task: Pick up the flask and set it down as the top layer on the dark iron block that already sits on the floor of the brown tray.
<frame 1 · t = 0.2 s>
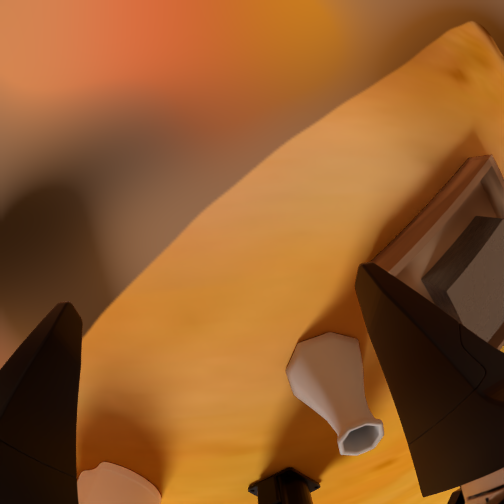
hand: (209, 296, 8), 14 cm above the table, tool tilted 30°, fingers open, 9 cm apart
jar: (120, 485, 27), on the table
flask: (324, 365, 25), on the table
brown tray: (464, 278, 24), on the table
block: (467, 280, 24), point 1 cm above the table, touching brown tray
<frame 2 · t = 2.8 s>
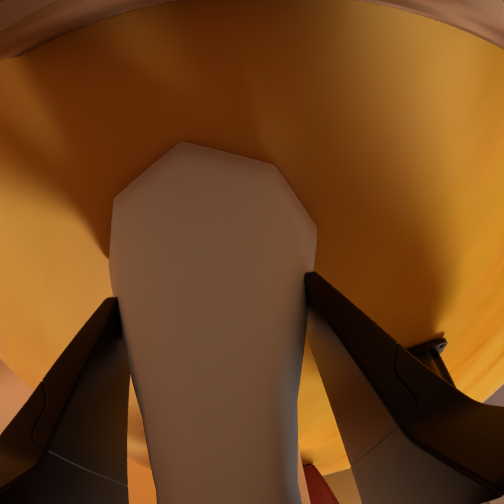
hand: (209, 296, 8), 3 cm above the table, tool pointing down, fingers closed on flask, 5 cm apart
jar: (257, 452, 31), on the table
flask: (208, 239, 11), on the table, touching gripper
plant pot: (273, 473, 44), on the table
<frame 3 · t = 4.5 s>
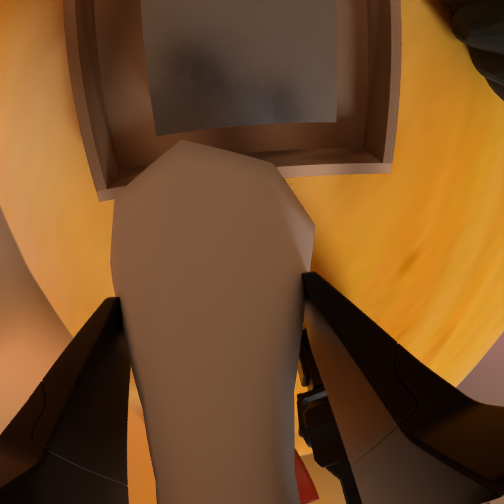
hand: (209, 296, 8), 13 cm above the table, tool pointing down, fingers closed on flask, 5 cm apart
squash: (477, 14, 12), on the table
flask: (207, 236, 11), point 10 cm above the table, touching gripper
plant pot: (254, 443, 57), on the table
brown tray: (236, 41, 14), on the table
block: (236, 41, 14), point 1 cm above the table, touching brown tray
when the fingers open (8 cm above the table, at t = 6.5 s): flask stays where it is, resting on block.
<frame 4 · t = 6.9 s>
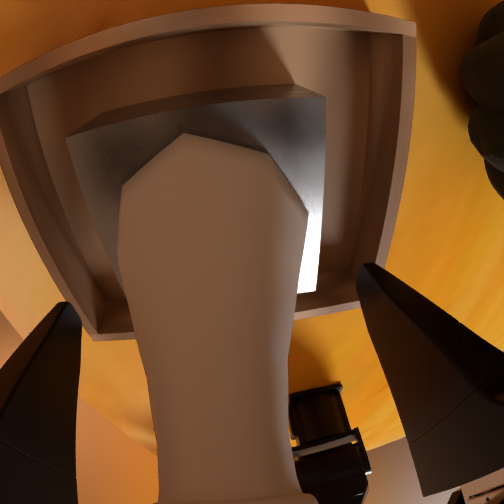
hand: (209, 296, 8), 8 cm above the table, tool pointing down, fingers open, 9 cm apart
squash: (498, 88, 13), on the table
flask: (208, 223, 12), point 4 cm above the table, touching block
brown tray: (207, 176, 15), on the table
block: (207, 181, 14), point 1 cm above the table, touching brown tray, flask
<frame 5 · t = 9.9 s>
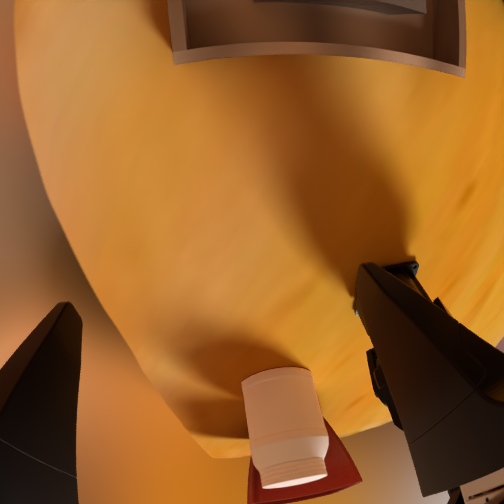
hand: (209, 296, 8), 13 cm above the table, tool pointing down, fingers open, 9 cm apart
jar: (275, 385, 40), on the table
plant pot: (285, 426, 54), on the table
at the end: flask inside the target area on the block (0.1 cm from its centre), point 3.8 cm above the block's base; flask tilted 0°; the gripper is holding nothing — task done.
